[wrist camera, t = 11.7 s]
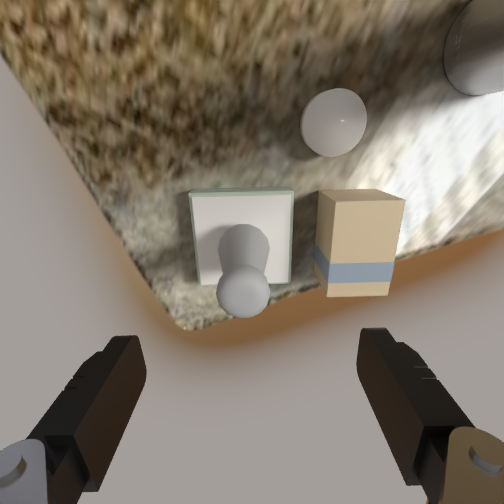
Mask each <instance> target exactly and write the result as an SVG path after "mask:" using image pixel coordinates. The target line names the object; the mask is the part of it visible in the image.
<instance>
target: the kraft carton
mask: <svg viewBox="0 0 504 504" xmlns="http://www.w3.org/2000/svg"><path fill="white" fill-rule="evenodd" d="M405 201H406V200H404V199H401V198H399V197H396V196H393V195H391V194H388V193H385V192H382V191H380V190H377V189H348V190H319V195H318V209H317V223H316V237H315V245H314V266H313V271H314V273H315V275H316V277H317V279H318V281H319V283H320V285H321V287H322V288H323V290H324V292H325V294H326V296H327V297H346V296H382V295H388V290H389V285H390V282H391V278H392V273H393V268H394V263H395V262H394V259H395V254H396V248H397V243H398V238H399V232H400V227H401V222H402V217H403V211H404V206H405Z"/></svg>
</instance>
